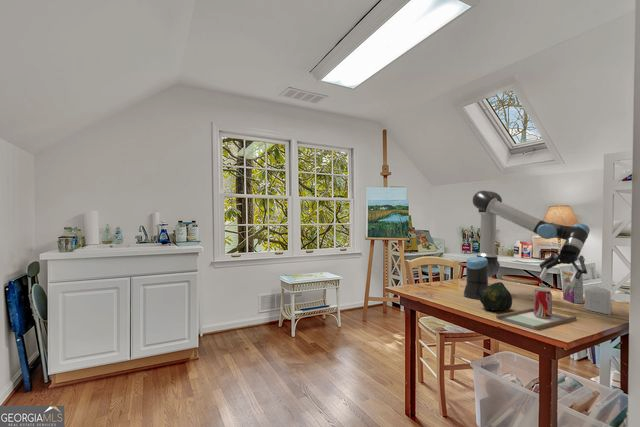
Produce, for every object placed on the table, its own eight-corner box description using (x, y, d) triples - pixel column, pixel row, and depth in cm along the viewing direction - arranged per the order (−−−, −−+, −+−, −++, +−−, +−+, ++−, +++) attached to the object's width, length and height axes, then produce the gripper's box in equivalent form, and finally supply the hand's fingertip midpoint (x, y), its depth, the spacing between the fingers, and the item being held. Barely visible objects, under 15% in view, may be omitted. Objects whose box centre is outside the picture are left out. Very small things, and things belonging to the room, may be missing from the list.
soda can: (530, 314, 153) (529, 288, 154) (545, 314, 153) (544, 288, 153) (540, 319, 146) (539, 291, 147) (556, 319, 146) (555, 291, 146)
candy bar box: (562, 298, 185) (561, 270, 186) (571, 299, 184) (571, 270, 185) (573, 303, 174) (572, 273, 175) (583, 303, 173) (583, 274, 174)
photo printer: (612, 314, 154) (612, 288, 155) (608, 315, 153) (607, 289, 153) (587, 308, 164) (587, 284, 164) (583, 309, 162) (582, 285, 162)
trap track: (496, 318, 149) (496, 315, 149) (535, 309, 162) (535, 307, 162) (536, 330, 132) (536, 326, 132) (576, 319, 146) (576, 316, 146)
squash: (469, 297, 167) (488, 278, 160) (483, 294, 176) (502, 276, 169) (490, 320, 158) (511, 301, 151) (503, 316, 167) (524, 298, 160)
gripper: (604, 255, 152) (589, 290, 145) (548, 252, 174) (532, 281, 167) (598, 245, 150) (583, 279, 142) (542, 242, 172) (526, 272, 165)
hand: (556, 281), depth 155 cm, fingers open, 13 cm apart
